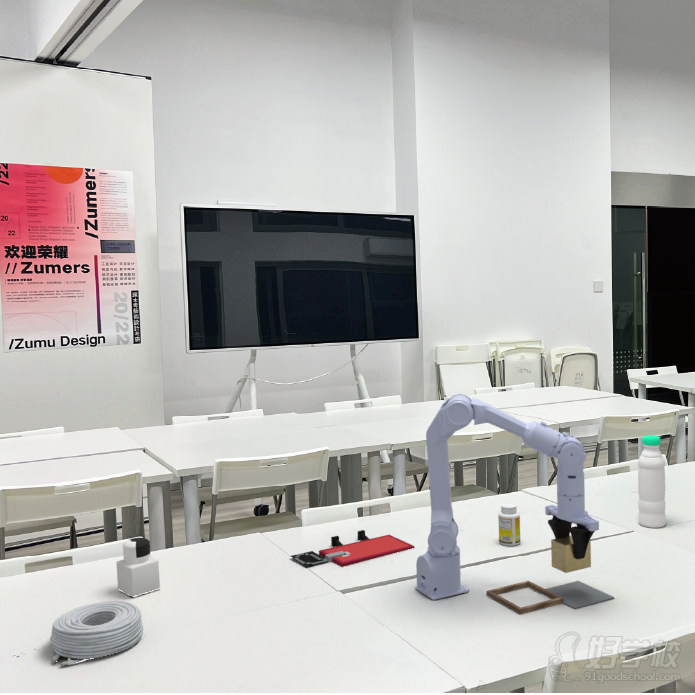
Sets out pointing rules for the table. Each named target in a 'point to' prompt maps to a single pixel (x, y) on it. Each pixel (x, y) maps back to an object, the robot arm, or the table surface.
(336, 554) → the red board with handle
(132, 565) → the medicine bottle
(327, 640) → the table surface
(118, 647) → the cable
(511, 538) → the supplement bottle
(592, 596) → the mat
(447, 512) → the robot arm
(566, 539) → the tan box
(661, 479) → the water bottle
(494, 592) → the wooden frame
